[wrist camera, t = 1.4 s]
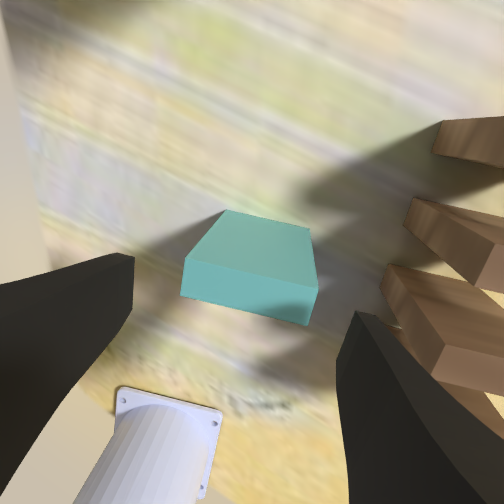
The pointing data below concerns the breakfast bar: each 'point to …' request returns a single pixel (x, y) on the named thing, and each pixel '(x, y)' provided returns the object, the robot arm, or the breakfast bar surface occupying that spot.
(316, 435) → the breakfast bar surface
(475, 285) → the walnut domino
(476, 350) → the walnut domino
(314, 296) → the teal domino
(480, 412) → the walnut domino
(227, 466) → the breakfast bar surface
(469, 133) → the walnut domino
